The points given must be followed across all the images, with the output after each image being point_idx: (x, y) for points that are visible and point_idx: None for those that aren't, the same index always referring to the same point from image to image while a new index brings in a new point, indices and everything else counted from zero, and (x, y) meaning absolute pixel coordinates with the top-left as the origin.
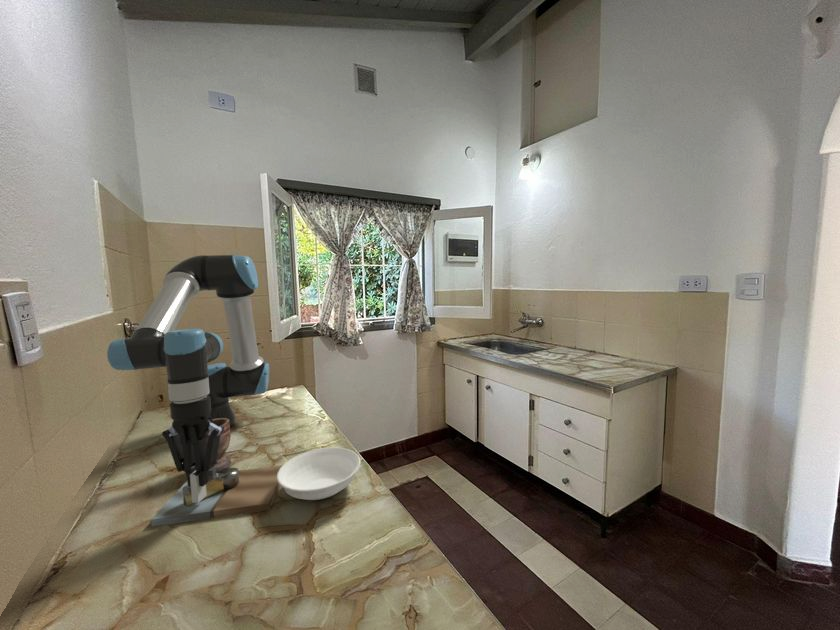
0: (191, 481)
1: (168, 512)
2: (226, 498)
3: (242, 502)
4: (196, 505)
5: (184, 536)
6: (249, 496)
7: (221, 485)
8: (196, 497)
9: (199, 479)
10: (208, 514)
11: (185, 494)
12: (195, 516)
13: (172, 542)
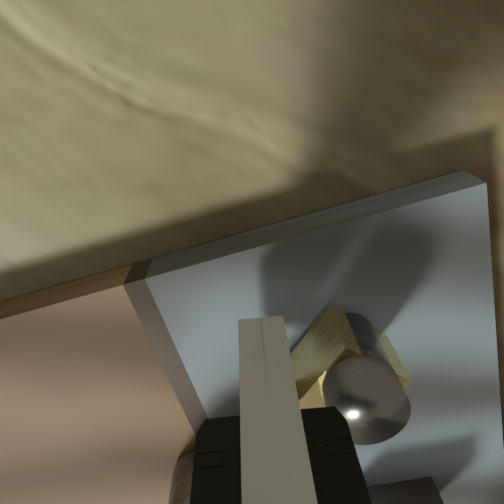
0: (296, 444)
1: (417, 251)
2: (142, 384)
3: (7, 363)
4: None
5: (181, 105)
6: (12, 408)
7: None
8: (251, 341)
9: (236, 472)
10: (156, 268)
11: (358, 359)
12: (225, 246)
13: (214, 47)
